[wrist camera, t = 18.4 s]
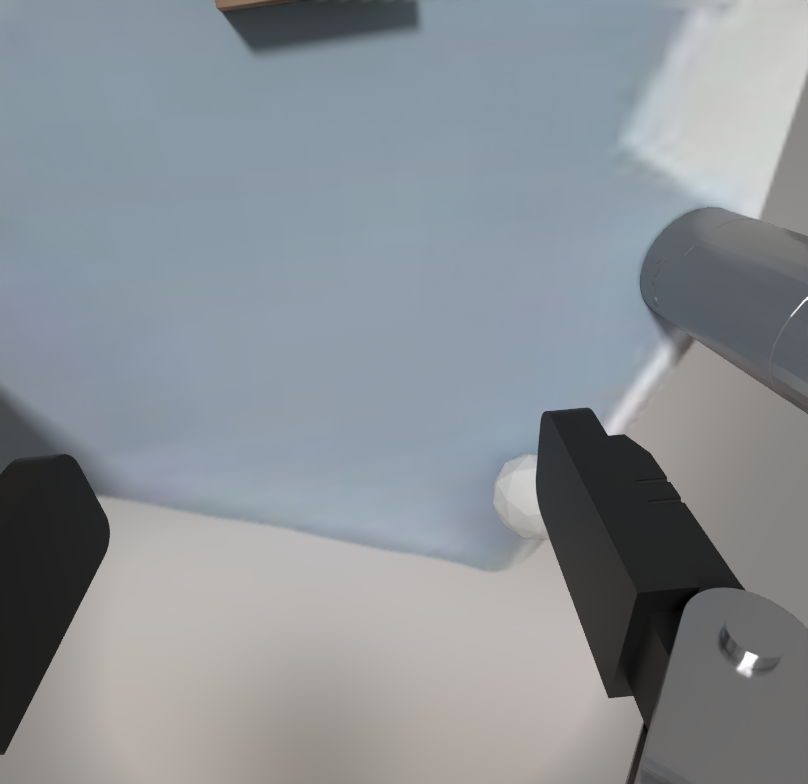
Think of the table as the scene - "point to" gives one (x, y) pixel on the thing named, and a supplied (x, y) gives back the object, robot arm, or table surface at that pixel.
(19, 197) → the table surface
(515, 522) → the geometric ball
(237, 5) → the socket block
